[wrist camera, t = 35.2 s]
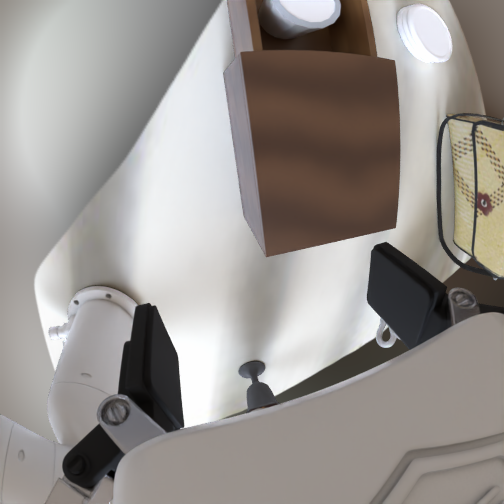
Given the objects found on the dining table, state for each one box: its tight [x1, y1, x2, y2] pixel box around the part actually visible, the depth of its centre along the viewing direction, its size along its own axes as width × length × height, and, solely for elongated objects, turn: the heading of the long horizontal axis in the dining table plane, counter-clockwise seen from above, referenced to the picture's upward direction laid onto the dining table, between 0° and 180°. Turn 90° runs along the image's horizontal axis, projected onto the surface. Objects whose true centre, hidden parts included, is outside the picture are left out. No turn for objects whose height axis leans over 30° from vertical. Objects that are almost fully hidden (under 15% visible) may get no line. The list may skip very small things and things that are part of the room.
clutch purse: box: [437, 113, 504, 280], centre depth 33 cm, size 30×7×15 cm, turn 21°
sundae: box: [239, 361, 280, 414], centre depth 42 cm, size 7×7×15 cm
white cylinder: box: [258, 0, 341, 39], centre depth 19 cm, size 7×7×7 cm
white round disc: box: [397, 4, 452, 63], centre depth 24 cm, size 10×10×4 cm
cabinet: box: [223, 50, 400, 257], centre depth 26 cm, size 18×15×11 cm
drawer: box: [227, 0, 377, 58], centre depth 19 cm, size 22×13×9 cm, turn 7°
